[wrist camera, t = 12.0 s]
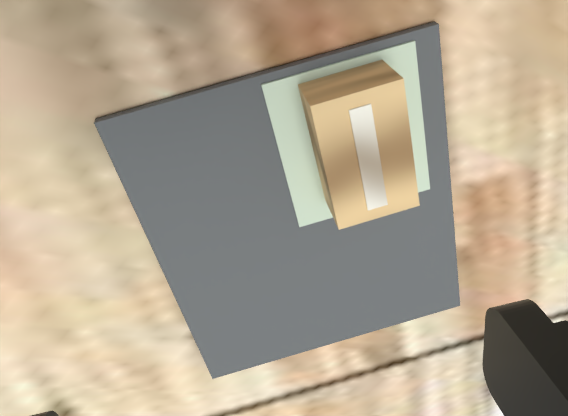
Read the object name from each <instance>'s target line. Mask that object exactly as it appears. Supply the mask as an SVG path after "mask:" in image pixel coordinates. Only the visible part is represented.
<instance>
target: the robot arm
mask: <svg viewBox="0 0 568 416" xmlns="http://www.w3.org/2000/svg"><path fill="white" fill-rule="evenodd" d="M483 372H484V376H485V380H486V383H487V386H488V388H489V391H490V393H491V395H492V397H493V398H494V400H495V402H496V403H497V405H498V406H499V408H500V410H501V411H502V413H503V414H504V416H568V321H566V320H565V321H561V322H557V323H553V322H552V321H551V320H550V319H549V318H548V317H547V316H546V314H545V313H544V312H543V311H542V310H541V309H540V308H539V306H538V305H537V304H536V303H534V302H533V301H531V300H529V299H526V300H522V301H517V302H513V303H509V304H505V305H501V306H496V307H492V308H489V309H488V310H487V312H486V317H485V333H484V350H483ZM31 416H58V414H57V413H56V412H54V411H48V412H44V413H40V414H36V415H31Z"/></svg>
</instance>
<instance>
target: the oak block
mask: <svg viewBox="0 0 568 416" xmlns="http://www.w3.org/2000/svg"><path fill="white" fill-rule="evenodd" d="M298 88H299V92H300V97H301V101H302V105H303V109H304V113H305V118H306V122H307V126H308V130H309V134H310V138H311V143H312V147H313V151H314V155H315V159H316V163H317V168H318V172H319V176H320V180H321V184H322V189H323V193H324V197H325V201H326V203H327V205H328V207H329V210H330V212H331V214H332V216H333V218H334V220H335V223H336V225H337V227H338V229H339V230H340V229H343V228H347V227H350V226H353V225H357V224H360V223H363V222H367V221H370V220H373V219H377V218H380V217H383V216H387V215H390V214H393V213H397V212H400V211H403V210H407V209H410V208H413V207H417V206H420V203H419V195H418V188H417V180H416V172H415V164H414V156H413V148H412V140H411V132H410V124H409V116H408V108H407V100H406V92H405V85H404V78H403V77H401V76H400V75H399V74H398V73H397V72H396V71H395V70H394V69H392V68H391V67H390V66H389V65H388V64H387V63H386V62H385V61H383V60H378V61H375V62H372V63H368V64H365V65H362V66H358V67H355V68H351V69H348V70H345V71H341V72H338V73H335V74H331V75H328V76H325V77H321V78H318V79H314V80H311V81H308V82H304V83H301V84H298Z"/></svg>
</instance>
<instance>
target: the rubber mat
mask: <svg viewBox="0 0 568 416" xmlns="http://www.w3.org/2000/svg"><path fill="white" fill-rule="evenodd" d="M378 60H383V61H385V62H386V63H387V64H388V65H389V66H390V67H391V68H392V69H394V70H395V71H396V72H397V73H398V74H399V75H400V76H401V77H403V78H404V85H405V92H406V100H407V108H408V116H409V124H410V132H411V140H412V148H413V156H414V164H415V172H416V180H417V188H418V195H419V203H420V206H417V207H413V208H410V209H407V210H403V211H400V212H397V213H393V214H390V215H387V216H383V217H380V218H377V219H373V220H370V221H367V222H363V223H360V224H357V225H353V226H350V227H347V228H343V229H340V230H339V229H338V227H337V225H336V223H335V220H334V218H333V216H332V214H331V212H330V210H329V207H328V205H327V203H326V201H325V197H324V193H323V189H322V184H321V180H320V176H319V172H318V168H317V163H316V159H315V155H314V151H313V147H312V143H311V138H310V134H309V130H308V126H307V122H306V118H305V113H304V109H303V105H302V101H301V97H300V92H299V88H298V84H301V83H304V82H308V81H311V80H314V79H318V78H321V77H325V76H328V75H331V74H335V73H338V72H341V71H345V70H348V69H351V68H355V67H358V66H362V65H365V64H368V63H372V62H375V61H378ZM94 124H95V126H96V128H97V130H98V132H99V134H100V137H101V139H102V141H103V143H104V145H105V147H106V150H107V152H108V154H109V156H110V158H111V160H112V163H113V165H114V167H115V169H116V171H117V173H118V176H119V178H120V180H121V182H122V184H123V186H124V188H125V191H126V193H127V195H128V197H129V199H130V201H131V204H132V206H133V208H134V210H135V212H136V214H137V217H138V219H139V221H140V223H141V225H142V227H143V229H144V232H145V234H146V236H147V238H148V240H149V242H150V245H151V247H152V249H153V251H154V253H155V255H156V258H157V260H158V262H159V264H160V266H161V268H162V271H163V273H164V275H165V277H166V279H167V281H168V283H169V286H170V288H171V290H172V292H173V294H174V296H175V299H176V301H177V303H178V305H179V307H180V309H181V312H182V314H183V316H184V318H185V320H186V322H187V324H188V327H189V329H190V331H191V333H192V335H193V337H194V340H195V342H196V344H197V346H198V348H199V350H200V353H201V355H202V357H203V359H204V361H205V363H206V366H207V368H208V370H209V372H210V374H211V376H212V378H213V379H214V378H217V377H220V376H224V375H227V374H231V373H234V372H237V371H241V370H244V369H247V368H251V367H254V366H258V365H261V364H264V363H268V362H271V361H275V360H278V359H281V358H285V357H288V356H291V355H295V354H298V353H302V352H305V351H308V350H312V349H315V348H318V347H322V346H325V345H329V344H332V343H335V342H339V341H342V340H345V339H349V338H352V337H356V336H359V335H362V334H366V333H369V332H372V331H376V330H379V329H383V328H386V327H389V326H393V325H396V324H399V323H403V322H406V321H410V320H413V319H416V318H420V317H423V316H426V315H430V314H433V313H437V312H440V311H443V310H447V309H450V308H453V307H457V306H460V297H459V284H458V271H457V258H456V245H455V232H454V218H453V205H452V192H451V179H450V166H449V153H448V140H447V127H446V114H445V100H444V87H443V74H442V61H441V48H440V35H439V24H438V23H436V22H432V23H428V24H425V25H421V26H418V27H414V28H411V29H407V30H404V31H400V32H397V33H393V34H390V35H386V36H383V37H379V38H376V39H372V40H369V41H365V42H362V43H359V44H355V45H352V46H348V47H345V48H341V49H338V50H334V51H331V52H327V53H324V54H320V55H317V56H313V57H310V58H306V59H303V60H299V61H296V62H292V63H289V64H285V65H282V66H278V67H275V68H271V69H268V70H265V71H261V72H258V73H254V74H251V75H247V76H244V77H240V78H237V79H233V80H230V81H226V82H223V83H219V84H216V85H212V86H209V87H205V88H202V89H198V90H195V91H191V92H188V93H184V94H181V95H178V96H174V97H171V98H167V99H164V100H160V101H157V102H153V103H150V104H146V105H143V106H139V107H136V108H132V109H129V110H125V111H122V112H118V113H115V114H111V115H108V116H104V117H101V118H97V119H95V122H94Z"/></svg>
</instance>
